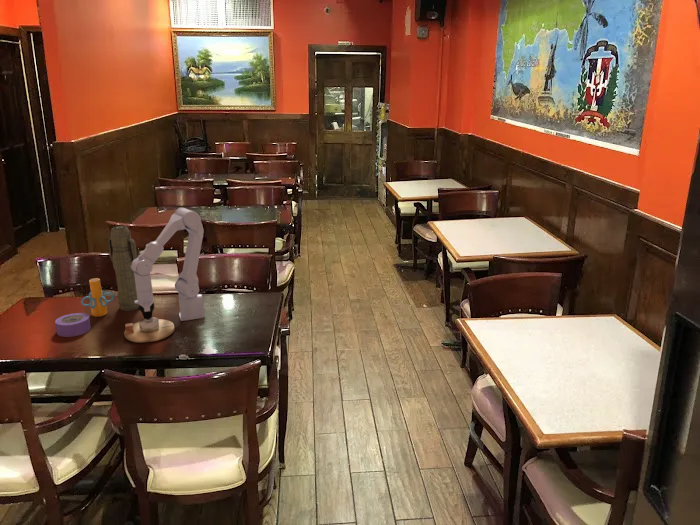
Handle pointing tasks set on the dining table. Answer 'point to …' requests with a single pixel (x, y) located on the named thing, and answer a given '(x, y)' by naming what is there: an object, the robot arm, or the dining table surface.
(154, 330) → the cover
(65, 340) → the dining table surface
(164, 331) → the disc
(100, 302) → the cylinder
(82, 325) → the tape roll
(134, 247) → the thermos
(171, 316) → the dining table surface
